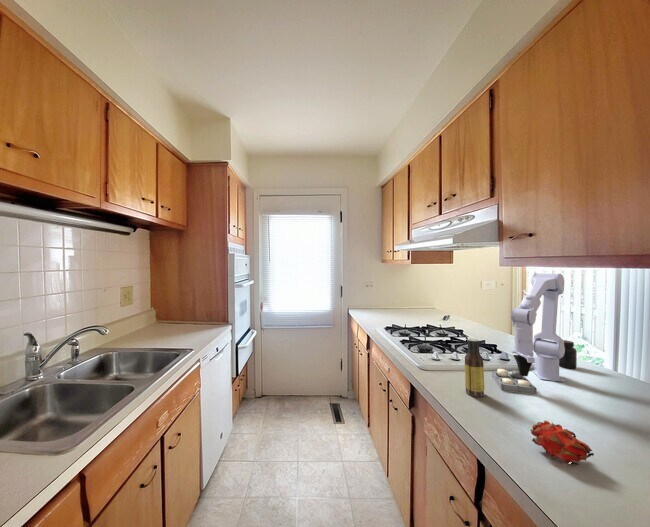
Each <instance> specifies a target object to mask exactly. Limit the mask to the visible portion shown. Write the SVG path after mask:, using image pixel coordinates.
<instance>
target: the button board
mask: <svg viewBox="0 0 650 527" xmlns="http://www.w3.org/2000/svg"><path fill="white" fill-rule="evenodd" d="M491 378H492V379H493V380H494V382H495V384H496V385H497V386H498V388H499V389H500V390H501V391H503V392H510V393H519V394H529V395H537V390H538V389H537V387H535V385H534V384H533V383H532V382H531V381H530V380H528V378H527V376H523V378H522V379H518V378H514V377H512V373H509V372H508V377H501V376H499V375H497V371H492V372H491ZM502 378H509V379H512V380H513V385H512V384H503V383H502ZM518 380H525V381H528V382H529V386H521V385H518Z"/></svg>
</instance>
